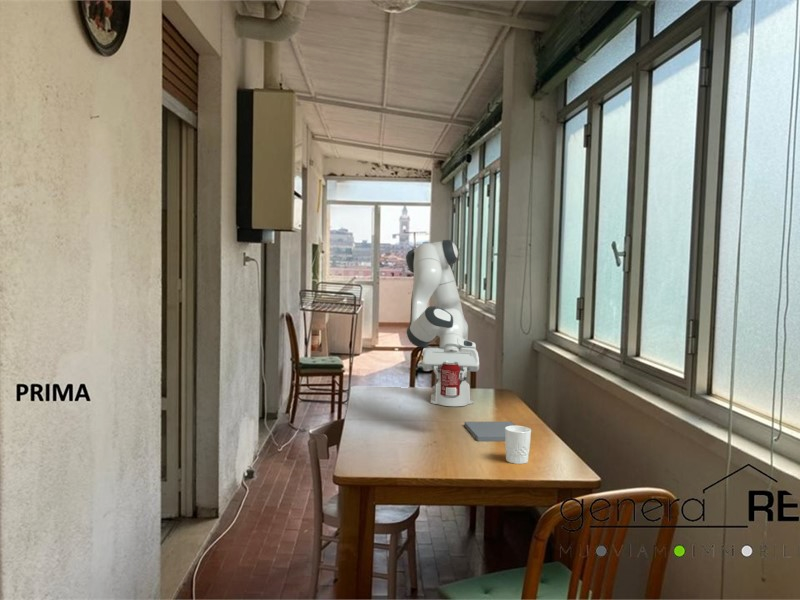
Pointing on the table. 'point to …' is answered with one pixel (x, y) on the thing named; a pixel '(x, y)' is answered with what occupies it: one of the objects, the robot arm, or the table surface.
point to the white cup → (517, 444)
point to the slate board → (488, 430)
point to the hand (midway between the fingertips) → (450, 378)
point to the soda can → (450, 380)
